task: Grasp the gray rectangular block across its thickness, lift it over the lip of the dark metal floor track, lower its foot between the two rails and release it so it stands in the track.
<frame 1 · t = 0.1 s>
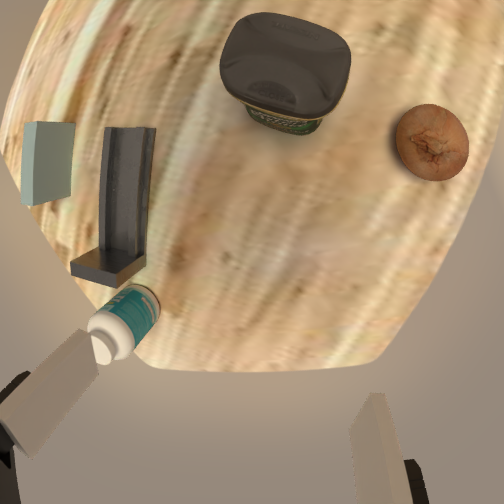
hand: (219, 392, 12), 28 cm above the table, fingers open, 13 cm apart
gray rectangular block: (65, 159, 39), on the table
onion: (418, 143, 32), on the table
floor track: (125, 196, 39), on the table
coffee jar: (287, 104, 33), on the table
pill bottle: (141, 303, 44), on the table
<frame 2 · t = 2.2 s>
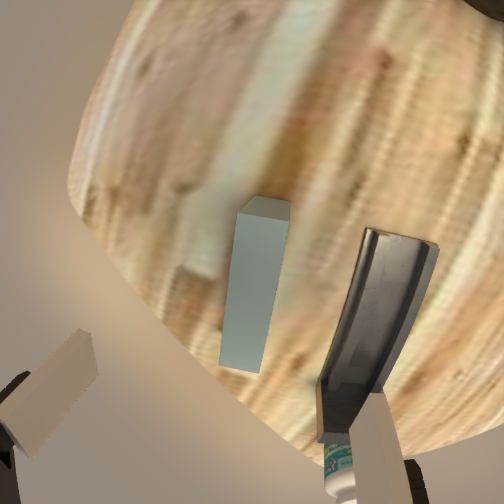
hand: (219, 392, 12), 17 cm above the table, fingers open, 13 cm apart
gray rectangular block: (262, 260, 28), on the table
floor track: (374, 325, 28), on the table
pill bottle: (348, 424, 34), on the table
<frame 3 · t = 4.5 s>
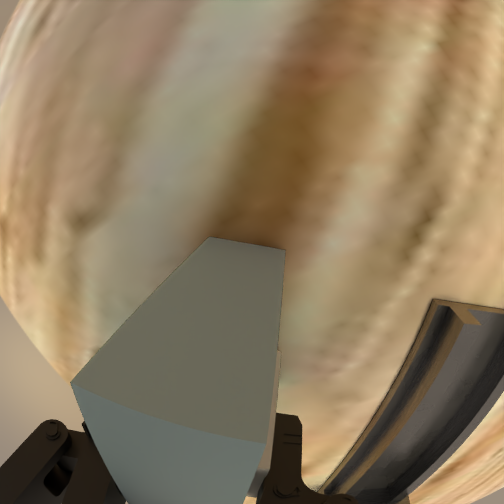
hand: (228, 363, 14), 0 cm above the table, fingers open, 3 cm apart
gray rectangular block: (230, 356, 14), on the table
floor track: (413, 432, 14), on the table
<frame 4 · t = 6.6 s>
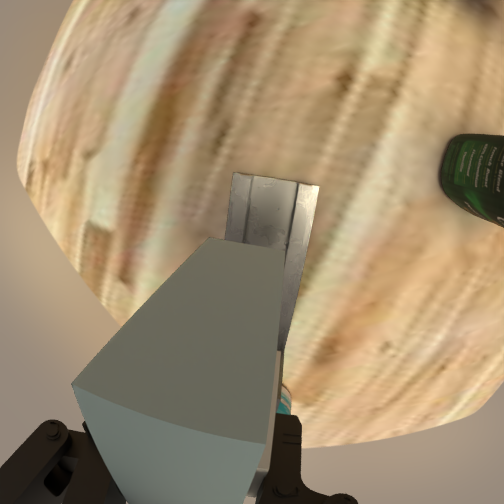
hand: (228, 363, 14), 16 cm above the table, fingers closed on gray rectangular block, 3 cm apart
gray rectangular block: (230, 357, 14), point 16 cm above the table, touching gripper
floor track: (260, 276, 30), on the table
coffee jar: (472, 177, 24), on the table
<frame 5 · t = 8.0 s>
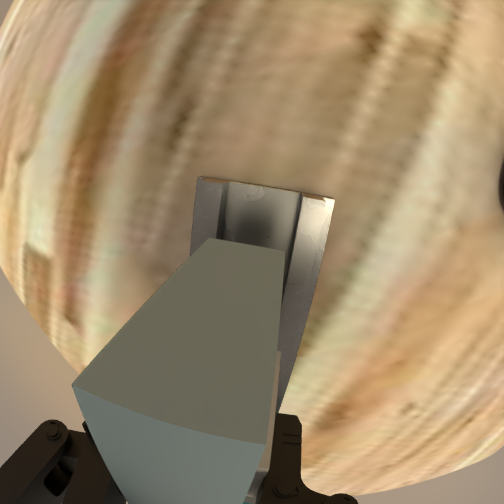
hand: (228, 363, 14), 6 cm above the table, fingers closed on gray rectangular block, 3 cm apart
gray rectangular block: (230, 357, 14), point 6 cm above the table, touching gripper
floor track: (243, 331, 20), on the table
when the fingers open (3 cm above the table, at t = 8.7 s): gray rectangular block drops 2 cm, resting on floor track.
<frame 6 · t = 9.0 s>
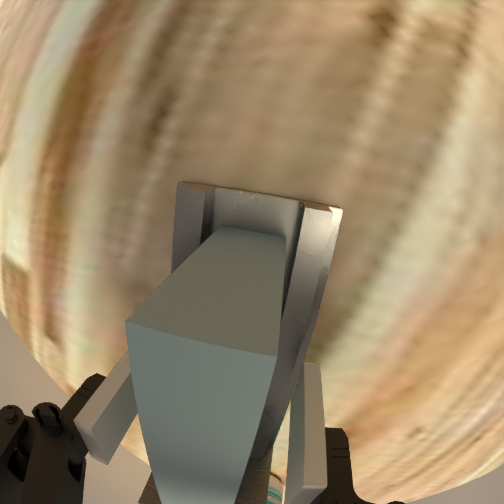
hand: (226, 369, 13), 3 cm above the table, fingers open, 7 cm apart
gray rectangular block: (237, 335, 16), point 1 cm above the table, touching floor track
floor track: (234, 358, 17), on the table
pill bottle: (246, 479, 23), on the table
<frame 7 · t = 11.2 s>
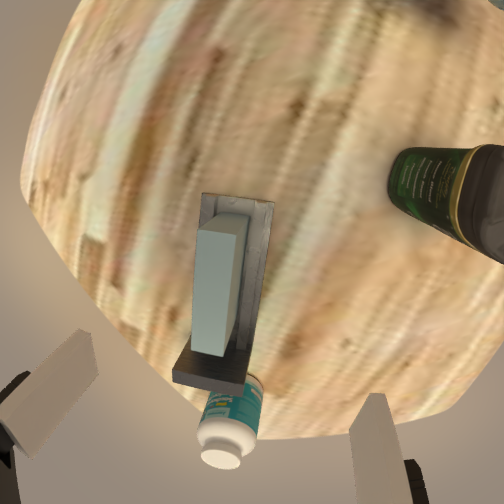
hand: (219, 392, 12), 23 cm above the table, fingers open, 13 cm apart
gray rectangular block: (229, 265, 34), point 1 cm above the table, touching floor track
floor track: (228, 280, 35), on the table
coffee jar: (422, 187, 29), on the table
pill bottle: (238, 387, 40), on the table
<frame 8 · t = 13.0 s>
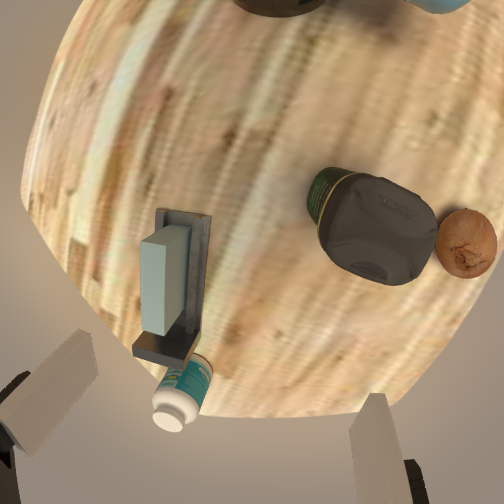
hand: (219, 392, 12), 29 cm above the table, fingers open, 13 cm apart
gray rectangular block: (178, 265, 41), point 1 cm above the table, touching floor track
onion: (451, 235, 35), on the table
floor track: (179, 277, 43), on the table
coffee jar: (343, 201, 36), on the table
pill bottle: (193, 366, 48), on the table
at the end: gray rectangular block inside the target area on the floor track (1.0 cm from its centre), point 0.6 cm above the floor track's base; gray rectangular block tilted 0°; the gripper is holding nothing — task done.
